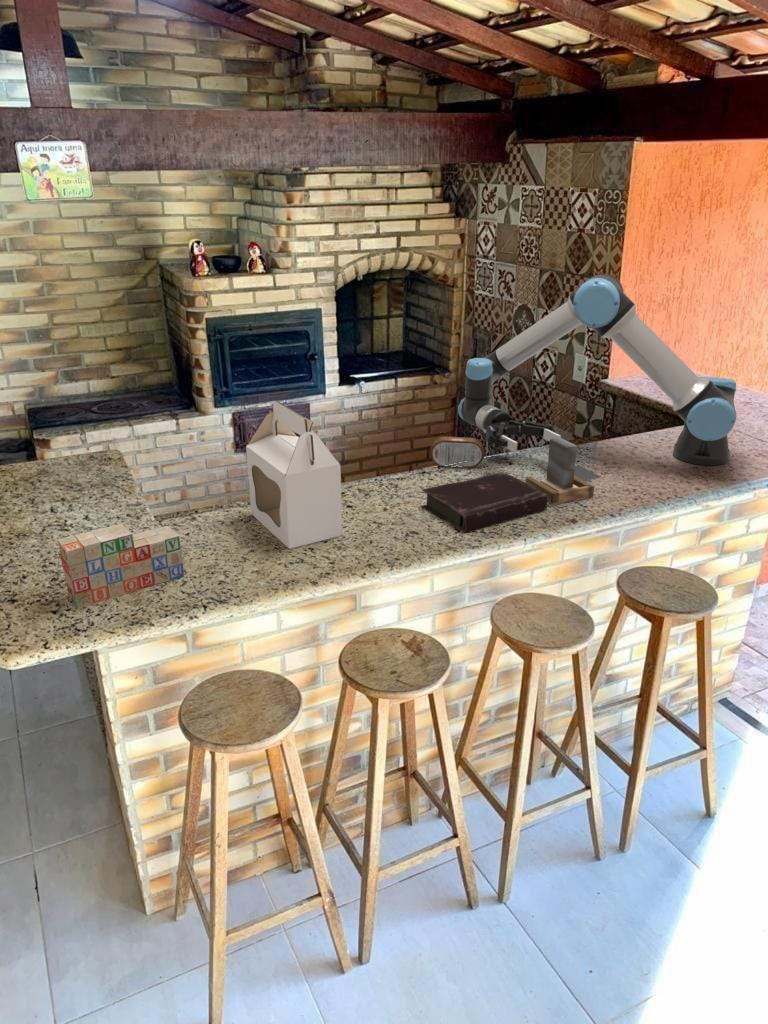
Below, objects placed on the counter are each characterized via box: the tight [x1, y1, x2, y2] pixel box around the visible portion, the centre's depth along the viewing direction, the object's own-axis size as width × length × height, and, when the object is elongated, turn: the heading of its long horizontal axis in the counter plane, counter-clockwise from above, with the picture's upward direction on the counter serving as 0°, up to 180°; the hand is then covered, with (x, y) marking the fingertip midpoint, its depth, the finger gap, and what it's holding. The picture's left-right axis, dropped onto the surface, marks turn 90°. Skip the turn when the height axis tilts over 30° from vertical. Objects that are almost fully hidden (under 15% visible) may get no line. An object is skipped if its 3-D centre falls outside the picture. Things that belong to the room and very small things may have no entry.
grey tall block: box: [539, 437, 578, 492], centre depth 191 cm, size 6×8×13 cm
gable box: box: [245, 400, 343, 550], centre depth 171 cm, size 22×13×28 cm, turn 31°
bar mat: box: [574, 464, 602, 482], centre depth 206 cm, size 10×10×1 cm
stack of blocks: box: [57, 523, 185, 608], centre depth 149 cm, size 21×6×12 cm, turn 125°
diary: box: [421, 472, 548, 533], centre depth 185 cm, size 19×25×5 cm
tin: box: [429, 436, 486, 469], centre depth 210 cm, size 15×3×8 cm, turn 84°
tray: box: [525, 476, 595, 506], centre depth 193 cm, size 12×12×3 cm
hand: (537, 444), depth 198 cm, fingers open, 13 cm apart
